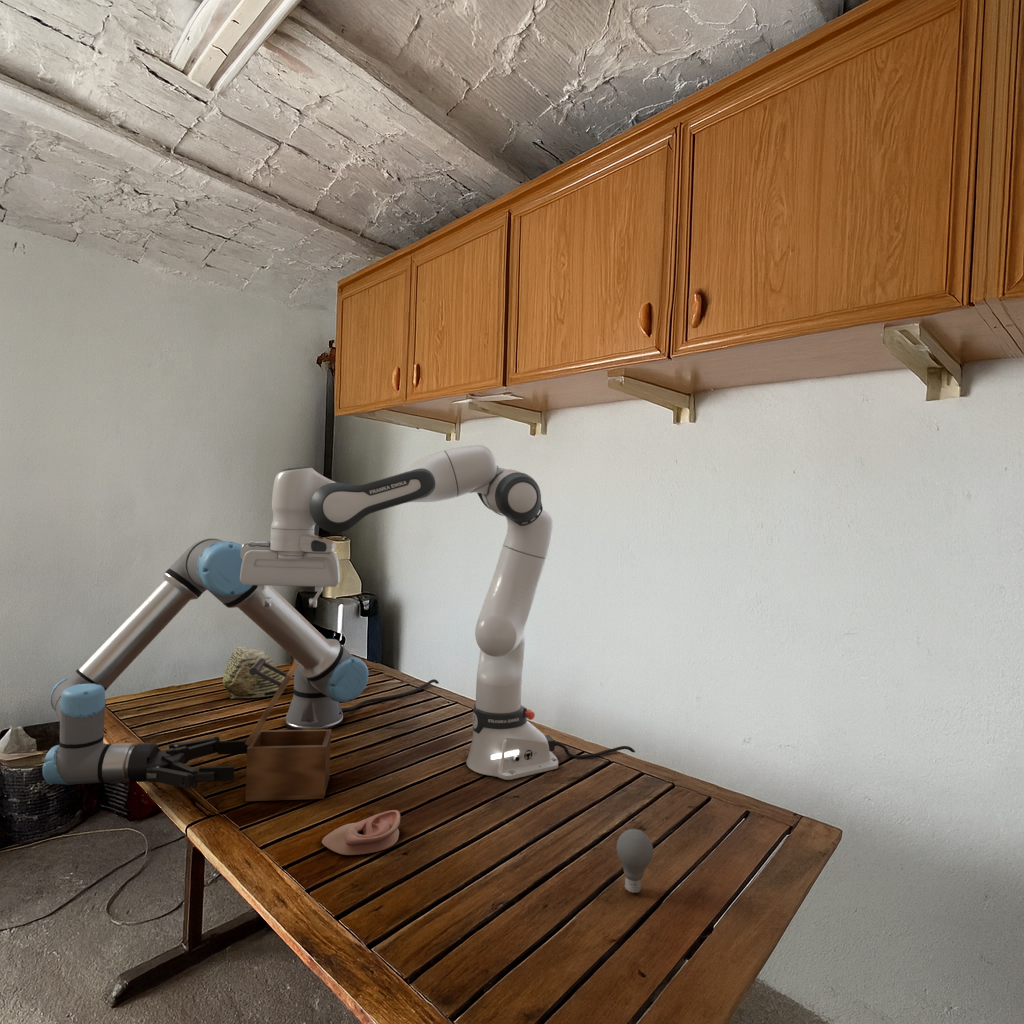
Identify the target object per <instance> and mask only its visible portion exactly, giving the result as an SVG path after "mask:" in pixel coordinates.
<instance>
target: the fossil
mask: <svg viewBox="0 0 1024 1024" xmlns="http://www.w3.org/2000/svg"><path fill="white" fill-rule="evenodd" d="M260 658H263V659H265V662H266V663H268V664H270V665H272V666H274V667H275V668H277V669H279V668H278V667H277V665H276V663H275V662H274V660H273V659H272V658H271V657H270V656H269V655H268V654H267V653H266V652H265V650H264V649H263V648H260V647H258V648H251V647H247V646H246V647H245V646H238V647H237V648H236V649H235V650H233V651H232V653H231V656H230V657H229V659H228V660H227V663H226V666H225V668H224V671H223V675H222V676H223V677H222V685H223V687H224V688H225V690H226V691H228V693H229V698H230V699H250V698H264V697H271V696H274V695H275V693H276V692H277V690H278V688H279V687H280V686H278V685H276V684H274V683H272V682H270V681H268V680H266V679H264V678H262V677H260V676H258V675H251V674H250V673H249V670H250V669H251V668H252V666H253V665H254V664H255V663H256V662H257V661H258V660H259V659H260ZM259 671H260V672H262V673H264V674H266V675H268V676H270V677H272V678H274V679H275V680H277V681H279V682H281V683H282V682H283V680H284V678H285V677H284V676H282V675H280V674H278V673H276V672H274V671H272V670H270V669H268V668H266V667H264V666H263V667H262V668H261V669H260V670H259ZM287 687H288V685H287V686H286V687H285V689H284V691H283V692H282V694H284V693H285V691H286V689H287Z"/></svg>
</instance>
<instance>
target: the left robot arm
mask: <svg viewBox="0 0 1024 1024" xmlns="http://www.w3.org/2000/svg"><path fill="white" fill-rule="evenodd" d="M242 546H243V544H240V543H237V542H234V541H227V540H226V541H225V540H222V539H219V538H205V539H201V540H199V541H197V542H194V543H193V544H192V545H191V546H190V547H188V548H187V549H186V550H185V551H184V552H183V553H182V554H181V555H180V556H179V557H178V558H177V559H176V561H174V562H173V564H171V565H170V566H169V568H168V569H167V570H165V572H164V573H163V580H162V582H160V583H159V584H158V586H156V588H154V589H153V591H151V592H150V594H149V595H148V596H146V598H145V599H144V600H143V601H142V602H141V603H140V604H139V605H138V606H137V607H136V608H135V609H134V610H133V611H132V612H131V613H130V614H129V616H127V617H126V619H124V620H123V621H122V623H121V624H120V625H118V627H117V628H116V629H115V630H114V631H113V632H112V633H111V634H110V635H109V636H108V637H107V638H106V639H105V640H104V641H103V642H102V643H101V644H100V645H99V646H98V647H97V648H96V649H95V650H94V652H93V653H92V654H91V655H89V656H88V658H87V659H86V660H85V661H84V662H83V663H82V664H81V665H80V666H79V667H78V668H77V669H76V670H75V671H74V672H73V673H72V674H71V675H70V676H67V677H64V678H63V679H61V680H60V681H57V683H55V685H54V686H53V688H52V689H51V692H50V705H51V707H52V709H53V710H54V712H55V714H56V717H57V719H58V721H59V741H58V743H59V744H57V745H54V746H52V747H51V748H50V749H49V750H48V752H47V753H46V755H45V757H44V763H43V765H42V776H43V779H44V781H45V782H46V783H48V784H50V785H66V786H74V785H85V784H86V785H87V784H110V783H111V784H114V785H119V784H120V783H128V782H129V781H130V782H131V783H159V784H164V785H170V786H174V787H179V788H182V789H183V788H184V789H189V788H193V789H194V788H197V787H198V783H207V782H208V783H209V782H233V781H234V780H235V767H236V766H235V765H220V766H219V765H218V766H199V768H198V769H197V768H194V767H192V766H190V765H187V764H188V762H189V761H191V760H195V759H198V758H203V757H206V756H209V755H213V754H217V755H247V748H248V747H249V746H248V745H246V744H245V743H246V741H247V740H248V739H247V740H245V739H244V740H220V736H213V737H208V738H202V739H196V740H191V741H185V742H176V743H175V742H174V743H173V742H172V743H169V744H168V748H167V749H163V750H160V748H159V745H158V743H156V742H138V743H137V744H135V743H134V742H125V743H124V742H123V743H121V742H120V743H104V739H105V734H104V733H105V715H106V714H105V713H106V712H105V711H106V704H107V700H106V691H107V690H108V689H109V688H110V687H111V685H112V684H113V683H114V682H115V681H116V680H117V679H118V678H119V677H120V676H121V675H122V674H123V673H124V672H125V670H126V669H128V668H129V666H130V665H131V664H132V663H133V662H134V661H135V660H136V659H137V658H138V657H139V656H140V655H141V654H142V652H143V651H144V650H145V649H146V648H147V647H148V646H149V645H150V644H151V643H152V642H153V640H154V639H155V638H157V636H158V635H159V634H160V633H161V632H162V631H163V630H164V629H165V628H166V627H167V626H168V625H169V624H170V623H171V622H172V620H173V619H174V618H175V617H176V616H177V615H178V614H179V613H180V612H181V611H182V610H183V608H185V607H186V605H188V603H189V602H190V601H192V600H193V601H194V600H198V599H199V598H200V597H201V596H202V595H203V594H204V593H205V592H206V591H208V592H209V593H210V594H211V595H213V596H214V598H216V599H217V600H218V601H219V602H221V603H222V604H223V605H224V606H225V607H226V608H228V609H234V608H235V609H236V608H238V609H239V610H240V611H241V612H242V613H243V614H244V615H245V616H246V617H248V618H249V620H251V621H252V622H253V623H254V624H256V625H257V626H258V627H259V629H261V630H262V631H263V632H264V633H266V634H267V635H268V636H269V637H270V638H271V639H272V640H273V641H274V642H275V643H276V644H277V645H279V646H280V647H281V648H282V649H283V650H284V651H285V652H286V653H287V654H288V655H290V656H291V657H292V659H294V663H297V664H299V666H298V667H297V669H296V671H295V672H294V674H293V695H292V696H293V697H292V699H291V701H290V702H289V705H288V706H289V708H288V711H287V713H286V715H285V726H286V728H287V729H288V730H316V729H331V730H332V729H335V728H337V727H339V726H340V725H342V723H343V722H344V714H343V712H351V711H353V710H356V709H358V708H360V707H362V706H364V705H366V704H370V703H373V702H379V701H387V700H392V699H393V700H394V699H397V698H401V697H402V698H403V697H406V696H410V695H412V694H415V693H417V692H419V691H421V690H423V689H424V688H426V687H428V686H429V685H431V684H433V683H435V684H437V685H438V684H440V682H439V681H438V680H437V679H435V678H433V679H431V680H428V681H427V682H426V683H423V684H421V685H420V686H418V687H416V688H414V689H411V690H409V691H405V692H401V693H396V694H392V695H387V696H380V697H373V698H368V699H365V700H363V701H361V702H360V701H359V702H358V703H356V704H355V705H352V706H350V707H349V706H348V707H342V706H341V703H342V704H344V703H350V702H353V701H354V700H355V699H357V698H358V697H359V696H360V695H362V693H363V692H364V691H365V689H366V687H367V685H368V681H369V668H368V666H367V664H366V663H365V662H364V661H363V660H362V659H361V658H359V657H357V656H354V655H353V654H351V652H350V651H348V650H347V649H346V647H344V646H343V645H342V644H341V643H340V641H339V640H338V639H336V638H326V637H325V636H324V635H323V634H322V633H321V632H319V630H318V629H316V628H315V626H313V625H312V623H311V622H310V621H308V620H307V619H306V618H305V617H304V616H303V615H302V614H301V613H300V612H299V611H298V610H297V609H296V608H294V606H293V605H292V604H291V603H290V602H289V601H288V600H286V599H285V597H284V596H282V595H281V594H280V593H279V592H278V591H277V590H276V589H275V588H274V587H273V586H270V585H266V589H265V590H264V591H265V593H266V595H267V597H271V606H270V607H263V606H262V603H263V598H261V596H260V594H259V592H258V591H257V587H258V585H243V584H242V583H241V581H240V572H241V566H242V559H241V556H240V554H241V547H242Z"/></svg>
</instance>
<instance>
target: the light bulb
mask: <svg viewBox="0 0 1024 1024" xmlns="http://www.w3.org/2000/svg"><path fill="white" fill-rule="evenodd" d="M615 849H616V854H617V857H618V859H619V861H620V863H621V865H622V867H623V873H624V874H623V875H624V876H625V878H624V888H625V890H627V891H628V892H630V893H634V894H635V893H639V892H640V891H641V889H642V887H641V886H642V879H643V877H644V875H645V871H646V868H647V867H648V866H649V864H650V863H651V861H652V859H653V855H654V847H653V843H652V841H651V838H649V836H648V835H647V834H646V833H645V832H643V831H642V830H641V829H636V828H629V829H627V830H625V831H623V832H622V833H621V834H620V835H619V837H618V839H617V841H616V847H615Z"/></svg>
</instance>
